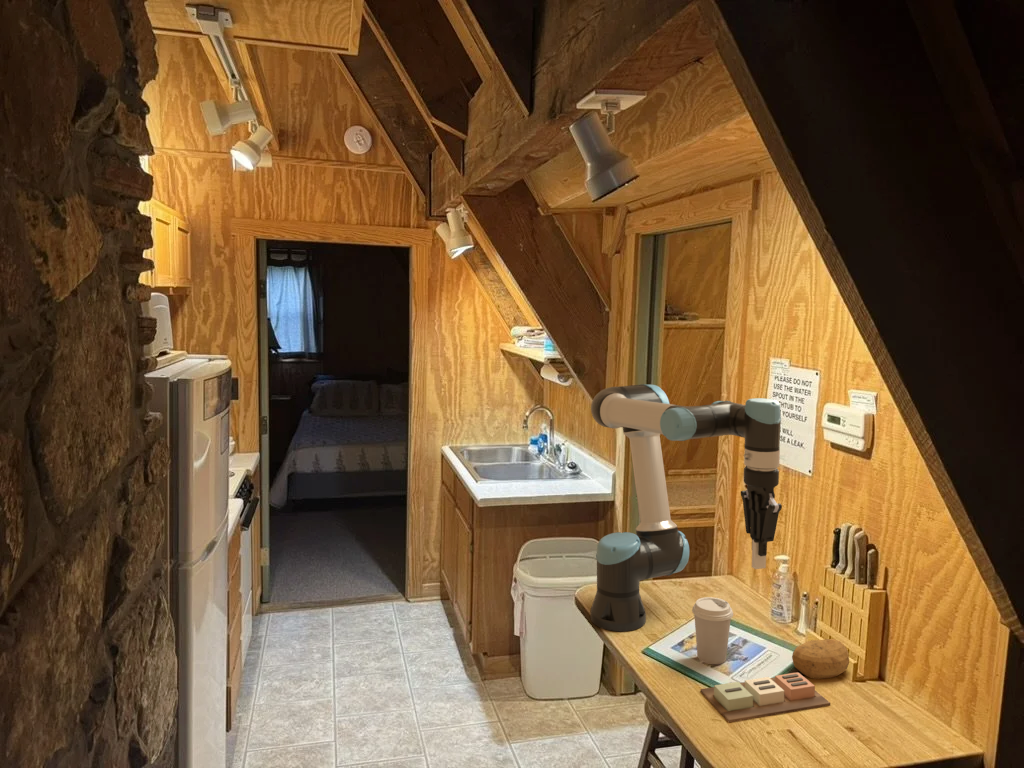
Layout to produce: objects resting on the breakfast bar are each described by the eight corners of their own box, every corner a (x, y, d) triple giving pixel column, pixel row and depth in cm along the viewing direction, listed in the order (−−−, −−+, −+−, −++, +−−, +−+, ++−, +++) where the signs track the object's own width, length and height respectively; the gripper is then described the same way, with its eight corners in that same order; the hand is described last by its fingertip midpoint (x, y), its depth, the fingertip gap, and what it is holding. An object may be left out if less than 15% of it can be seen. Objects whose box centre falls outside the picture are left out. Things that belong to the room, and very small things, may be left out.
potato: (779, 671, 168) (780, 639, 167) (828, 661, 172) (829, 629, 171) (808, 692, 159) (809, 658, 158) (859, 681, 163) (860, 648, 162)
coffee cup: (734, 674, 167) (735, 614, 165) (692, 671, 169) (693, 611, 167) (730, 654, 176) (731, 597, 174) (690, 651, 178) (691, 594, 176)
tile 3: (774, 692, 158) (775, 674, 158) (797, 688, 160) (798, 670, 159) (790, 707, 153) (791, 688, 152) (814, 703, 154) (814, 684, 154)
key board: (700, 697, 158) (700, 689, 157) (795, 682, 163) (795, 674, 163) (728, 729, 146) (728, 720, 146) (830, 711, 152) (830, 702, 151)
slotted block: (713, 702, 155) (714, 684, 154) (737, 698, 156) (738, 680, 156) (727, 717, 149) (728, 698, 149) (752, 713, 151) (753, 694, 150)
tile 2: (744, 697, 157) (745, 679, 156) (768, 693, 158) (768, 675, 158) (759, 712, 151) (760, 693, 151) (783, 708, 152) (784, 689, 152)
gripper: (731, 462, 166) (729, 559, 169) (763, 475, 153) (760, 580, 156) (759, 459, 168) (757, 556, 170) (793, 472, 155) (790, 576, 158)
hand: (758, 567), depth 163 cm, fingers closed
